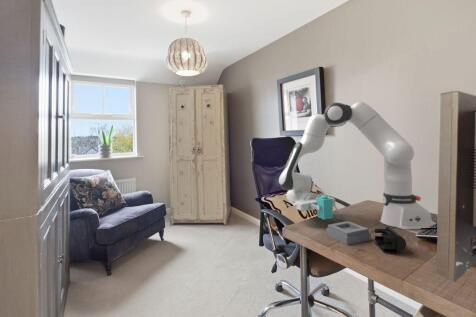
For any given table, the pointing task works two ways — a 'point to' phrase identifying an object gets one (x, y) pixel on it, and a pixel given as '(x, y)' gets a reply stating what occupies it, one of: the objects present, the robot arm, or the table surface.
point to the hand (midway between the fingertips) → (325, 207)
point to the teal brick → (325, 207)
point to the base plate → (348, 232)
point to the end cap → (390, 241)
